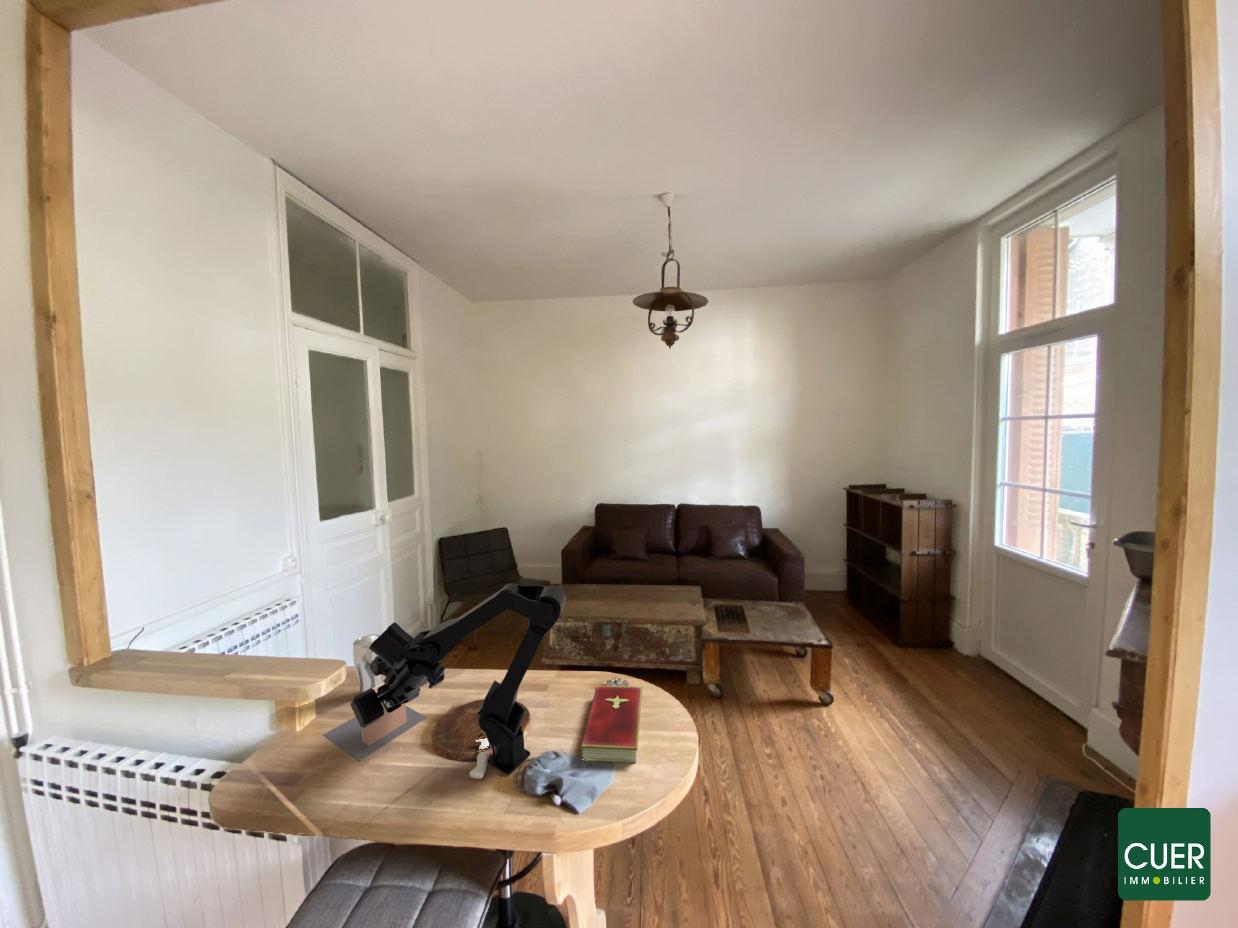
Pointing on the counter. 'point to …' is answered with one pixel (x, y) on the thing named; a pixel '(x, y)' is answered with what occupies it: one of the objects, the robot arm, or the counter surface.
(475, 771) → the knife
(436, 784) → the counter surface
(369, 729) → the tile
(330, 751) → the counter surface
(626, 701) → the hardcover book
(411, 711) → the mat
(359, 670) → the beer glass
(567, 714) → the counter surface
